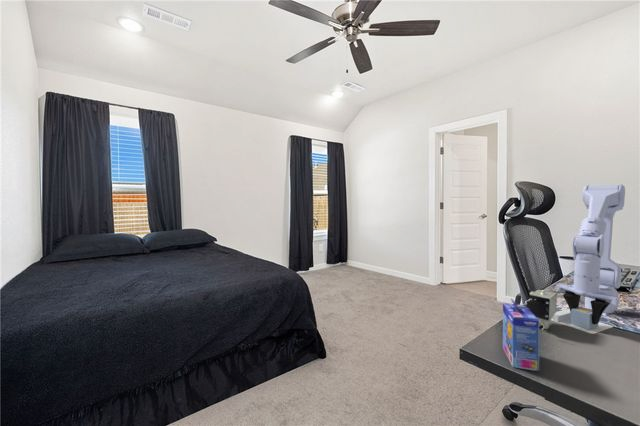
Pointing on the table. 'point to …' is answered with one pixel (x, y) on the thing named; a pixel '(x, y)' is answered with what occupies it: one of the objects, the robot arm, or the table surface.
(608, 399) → the table surface
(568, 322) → the rail board
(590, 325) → the block
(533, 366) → the ink cartridge box
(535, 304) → the pneumatic valve
